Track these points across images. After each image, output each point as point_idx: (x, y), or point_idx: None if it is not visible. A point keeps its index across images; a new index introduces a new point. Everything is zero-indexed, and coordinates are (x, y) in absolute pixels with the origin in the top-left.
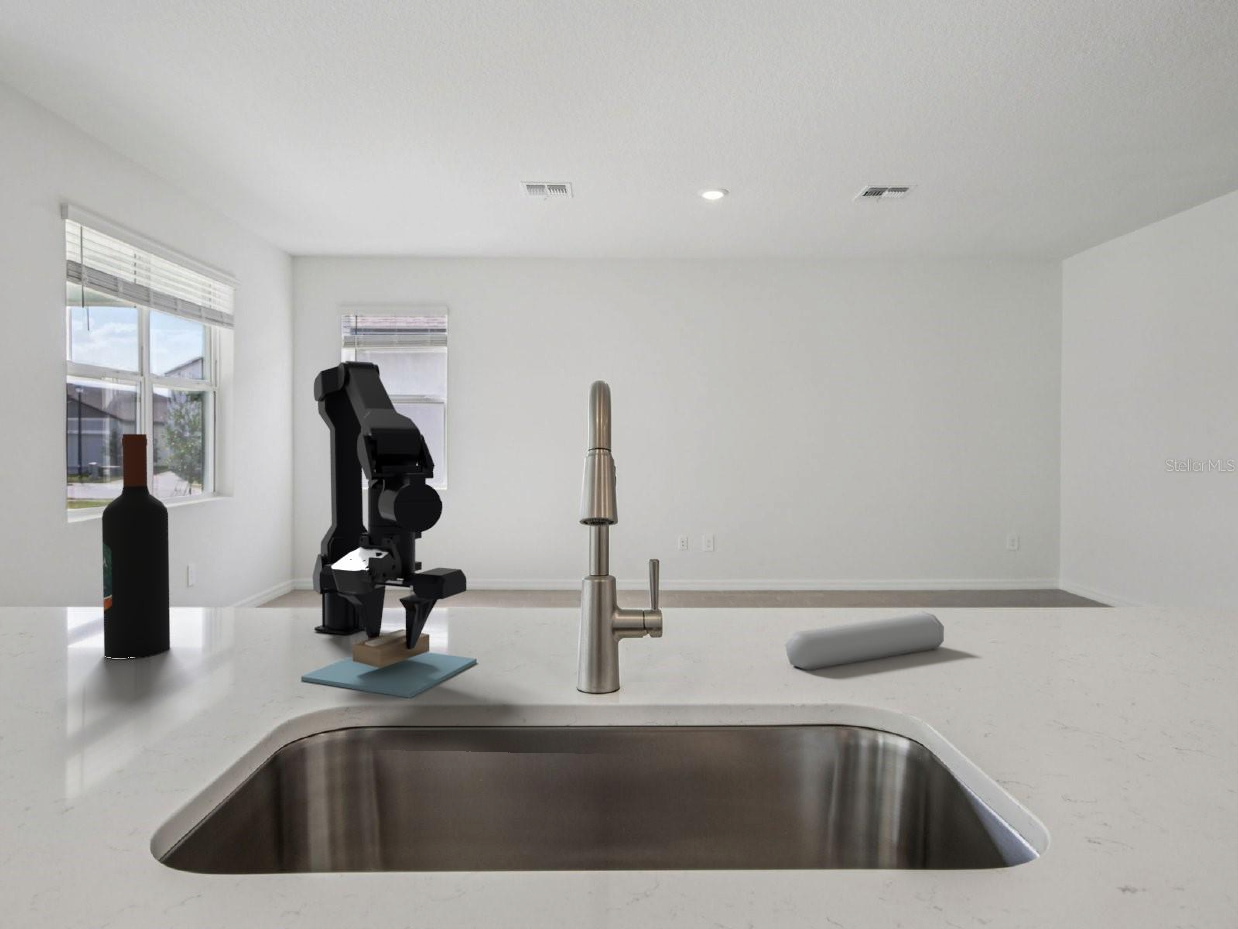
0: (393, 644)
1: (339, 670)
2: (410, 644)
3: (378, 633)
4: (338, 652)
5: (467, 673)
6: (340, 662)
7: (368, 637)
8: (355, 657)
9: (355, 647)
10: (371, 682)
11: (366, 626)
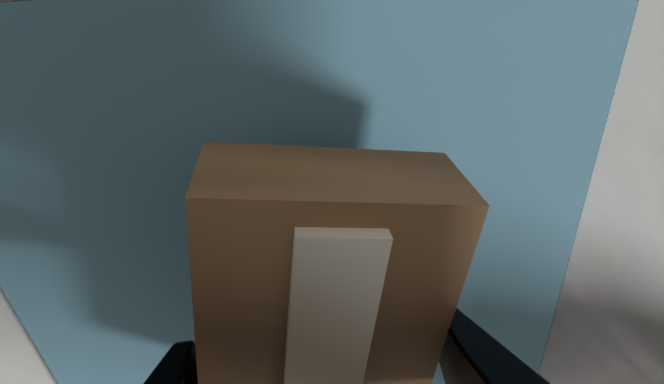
0: (216, 312)
1: (507, 121)
2: (156, 366)
3: (448, 381)
4: (655, 291)
5: (15, 361)
6: (568, 200)
7: (471, 325)
8: (430, 163)
9: (451, 193)
10: (215, 58)
11: (514, 380)
